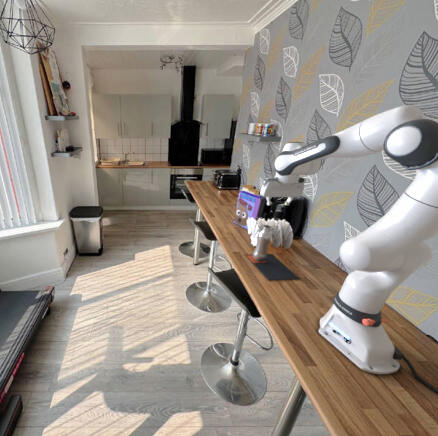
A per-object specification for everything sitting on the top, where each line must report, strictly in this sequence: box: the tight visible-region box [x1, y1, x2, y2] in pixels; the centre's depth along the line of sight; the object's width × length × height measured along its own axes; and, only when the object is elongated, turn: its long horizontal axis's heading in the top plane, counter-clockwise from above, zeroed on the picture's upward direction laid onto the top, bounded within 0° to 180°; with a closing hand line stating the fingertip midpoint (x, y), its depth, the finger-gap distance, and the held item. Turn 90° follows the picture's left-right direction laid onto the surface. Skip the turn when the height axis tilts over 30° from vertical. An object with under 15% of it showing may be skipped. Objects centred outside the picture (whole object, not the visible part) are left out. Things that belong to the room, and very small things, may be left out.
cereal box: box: [232, 190, 267, 231], centre depth 163 cm, size 17×5×24 cm, turn 27°
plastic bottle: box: [252, 225, 272, 262], centre depth 123 cm, size 6×7×20 cm
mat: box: [245, 253, 300, 281], centre depth 123 cm, size 22×16×1 cm
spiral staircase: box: [246, 217, 294, 250], centre depth 140 cm, size 18×18×25 cm
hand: (277, 205), depth 116 cm, fingers open, 8 cm apart
